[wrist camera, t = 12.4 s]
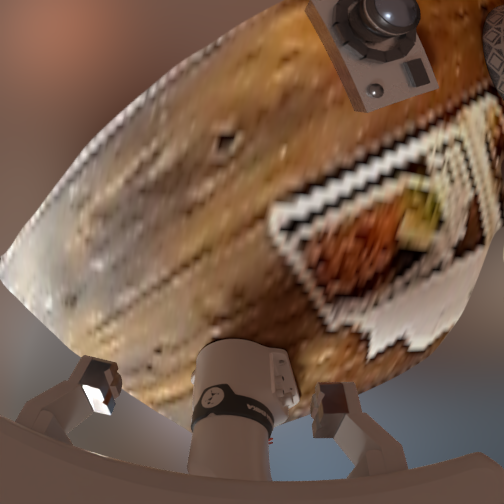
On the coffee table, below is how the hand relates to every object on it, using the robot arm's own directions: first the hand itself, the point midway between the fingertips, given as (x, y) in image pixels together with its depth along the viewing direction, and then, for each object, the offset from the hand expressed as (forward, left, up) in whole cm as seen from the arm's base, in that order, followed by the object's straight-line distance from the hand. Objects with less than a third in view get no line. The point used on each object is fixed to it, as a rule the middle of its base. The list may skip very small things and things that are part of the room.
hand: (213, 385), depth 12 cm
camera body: (+10, -21, -31) cm, 38 cm away
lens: (+12, -21, -26) cm, 35 cm away
